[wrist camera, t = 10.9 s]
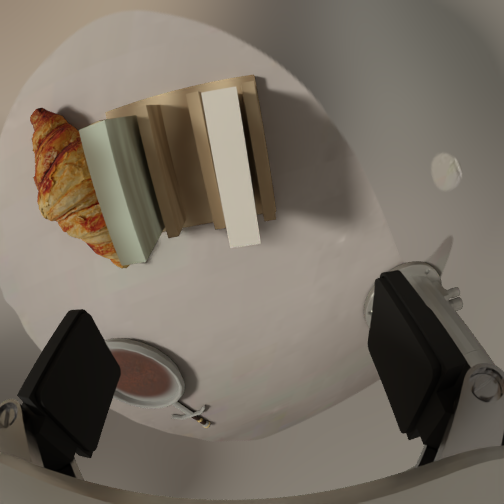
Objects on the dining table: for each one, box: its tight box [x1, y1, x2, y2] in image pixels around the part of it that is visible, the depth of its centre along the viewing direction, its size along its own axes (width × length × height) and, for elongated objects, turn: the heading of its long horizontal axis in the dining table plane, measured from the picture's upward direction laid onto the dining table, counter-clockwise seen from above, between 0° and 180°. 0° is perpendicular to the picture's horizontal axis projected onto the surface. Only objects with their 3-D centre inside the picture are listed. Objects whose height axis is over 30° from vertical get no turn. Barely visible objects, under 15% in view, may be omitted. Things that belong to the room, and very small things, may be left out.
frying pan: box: [105, 338, 210, 428], centre depth 45 cm, size 17×3×28 cm
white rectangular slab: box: [201, 87, 261, 248], centre depth 23 cm, size 2×11×10 cm, turn 8°
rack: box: [79, 75, 276, 266], centre depth 24 cm, size 15×14×10 cm
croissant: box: [30, 108, 129, 268], centre depth 27 cm, size 21×10×8 cm, turn 26°
